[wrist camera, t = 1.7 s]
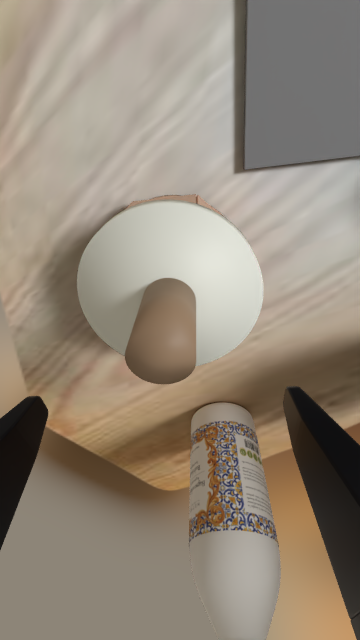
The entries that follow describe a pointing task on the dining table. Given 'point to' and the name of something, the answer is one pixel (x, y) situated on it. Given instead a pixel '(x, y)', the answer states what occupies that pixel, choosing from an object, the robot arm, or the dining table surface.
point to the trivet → (301, 81)
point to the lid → (169, 287)
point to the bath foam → (231, 524)
